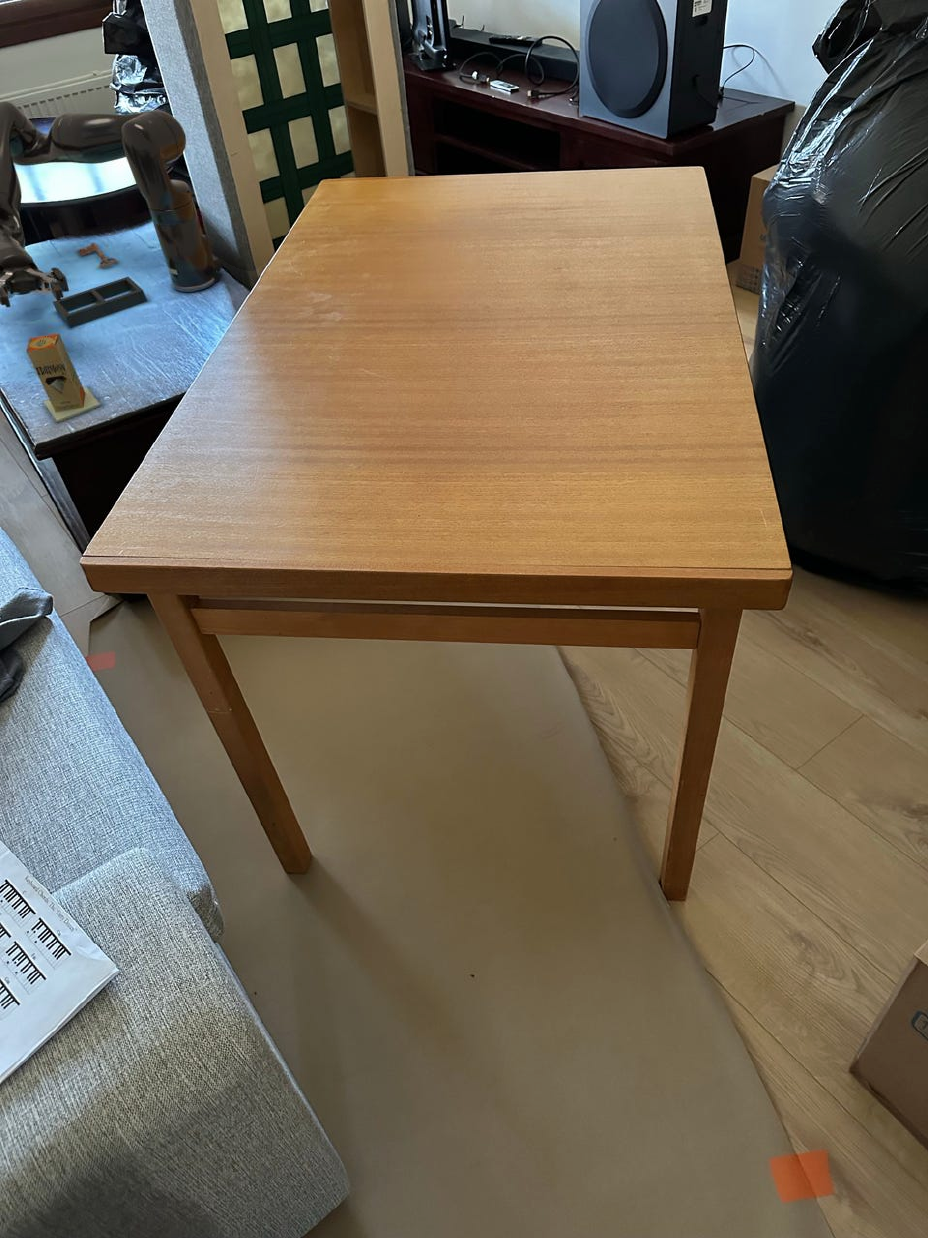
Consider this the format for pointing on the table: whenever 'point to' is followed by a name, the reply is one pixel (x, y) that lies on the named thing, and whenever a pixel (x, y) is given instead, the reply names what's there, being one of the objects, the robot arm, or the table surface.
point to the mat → (63, 415)
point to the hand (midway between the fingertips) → (32, 298)
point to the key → (98, 253)
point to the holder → (99, 301)
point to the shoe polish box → (56, 372)
